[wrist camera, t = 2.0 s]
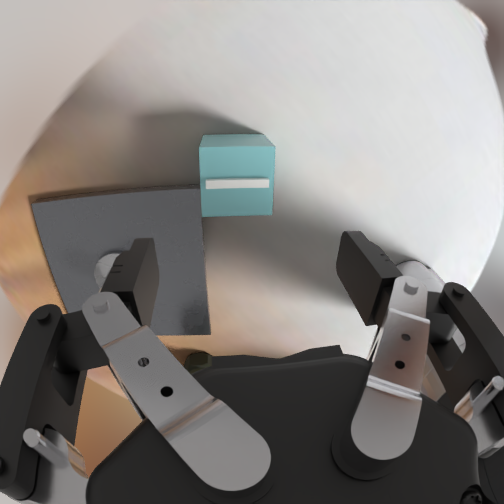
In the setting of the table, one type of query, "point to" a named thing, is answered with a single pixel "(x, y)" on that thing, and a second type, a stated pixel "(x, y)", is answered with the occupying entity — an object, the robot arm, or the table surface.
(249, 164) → the teal cube with window
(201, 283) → the post base
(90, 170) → the table surface
